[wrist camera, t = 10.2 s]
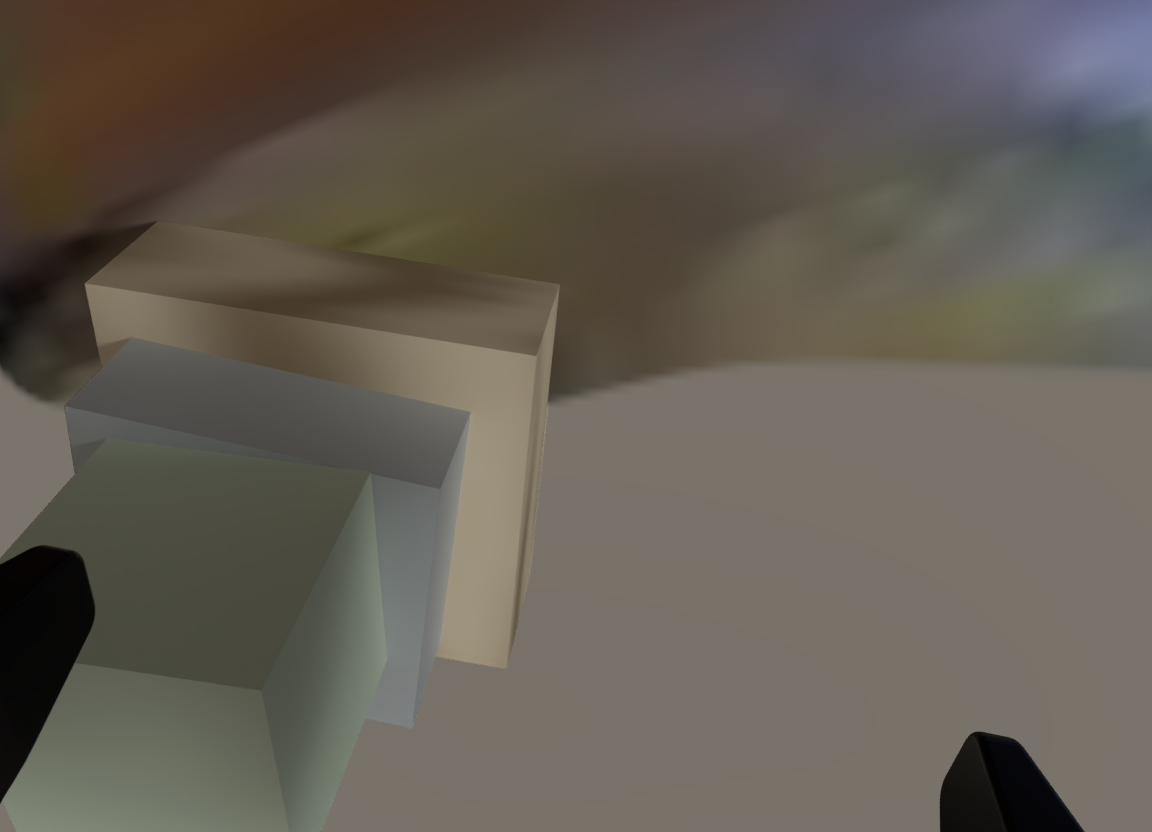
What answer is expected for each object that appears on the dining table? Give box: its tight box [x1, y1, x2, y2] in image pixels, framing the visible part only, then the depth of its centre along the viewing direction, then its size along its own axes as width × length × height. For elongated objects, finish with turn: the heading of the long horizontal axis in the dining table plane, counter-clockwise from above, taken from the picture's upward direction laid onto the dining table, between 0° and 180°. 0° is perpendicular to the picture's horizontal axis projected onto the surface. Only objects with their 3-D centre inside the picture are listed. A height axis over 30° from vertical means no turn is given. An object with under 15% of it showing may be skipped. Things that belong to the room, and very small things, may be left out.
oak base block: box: [85, 221, 560, 669], centre depth 23 cm, size 9×9×4 cm
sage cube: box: [0, 438, 387, 832], centre depth 18 cm, size 5×5×5 cm
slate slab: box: [64, 337, 471, 729], centre depth 21 cm, size 7×7×2 cm
